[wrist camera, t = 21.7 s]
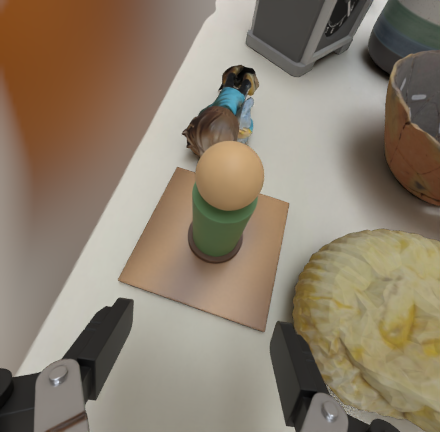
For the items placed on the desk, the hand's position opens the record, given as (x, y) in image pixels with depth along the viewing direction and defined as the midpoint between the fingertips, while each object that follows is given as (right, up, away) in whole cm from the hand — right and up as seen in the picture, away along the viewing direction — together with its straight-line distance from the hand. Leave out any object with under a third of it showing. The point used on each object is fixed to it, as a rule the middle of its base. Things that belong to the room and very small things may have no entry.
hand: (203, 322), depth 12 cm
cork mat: (0, +4, +11) cm, 12 cm away
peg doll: (0, +4, +11) cm, 11 cm away
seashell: (+15, -5, +9) cm, 18 cm away
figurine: (+2, +18, +19) cm, 26 cm away
